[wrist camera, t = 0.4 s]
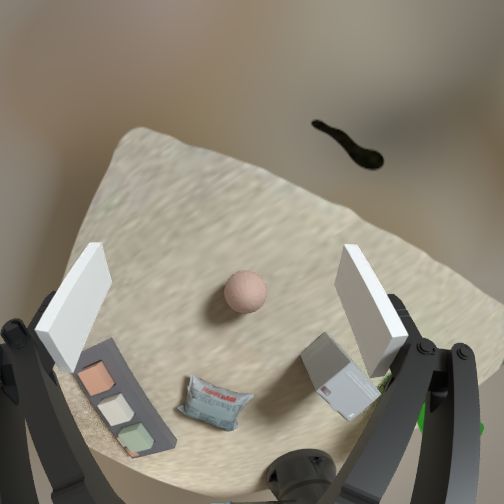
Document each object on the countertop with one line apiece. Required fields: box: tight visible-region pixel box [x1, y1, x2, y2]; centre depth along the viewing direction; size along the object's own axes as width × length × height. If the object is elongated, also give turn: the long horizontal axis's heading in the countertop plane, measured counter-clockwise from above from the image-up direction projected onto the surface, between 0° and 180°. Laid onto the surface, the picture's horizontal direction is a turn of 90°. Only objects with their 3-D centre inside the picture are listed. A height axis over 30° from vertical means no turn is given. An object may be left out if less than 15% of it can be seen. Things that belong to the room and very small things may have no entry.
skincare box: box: [300, 332, 381, 422], centre depth 43 cm, size 8×7×16 cm
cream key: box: [97, 392, 135, 426], centre depth 45 cm, size 5×5×4 cm
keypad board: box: [73, 338, 177, 459], centre depth 47 cm, size 25×11×3 cm, turn 26°
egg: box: [224, 271, 267, 314], centre depth 46 cm, size 7×7×9 cm
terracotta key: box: [78, 360, 115, 396], centre depth 45 cm, size 5×5×4 cm
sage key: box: [118, 422, 154, 453], centre depth 45 cm, size 5×5×4 cm
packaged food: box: [177, 373, 254, 431], centre depth 48 cm, size 9×12×5 cm
